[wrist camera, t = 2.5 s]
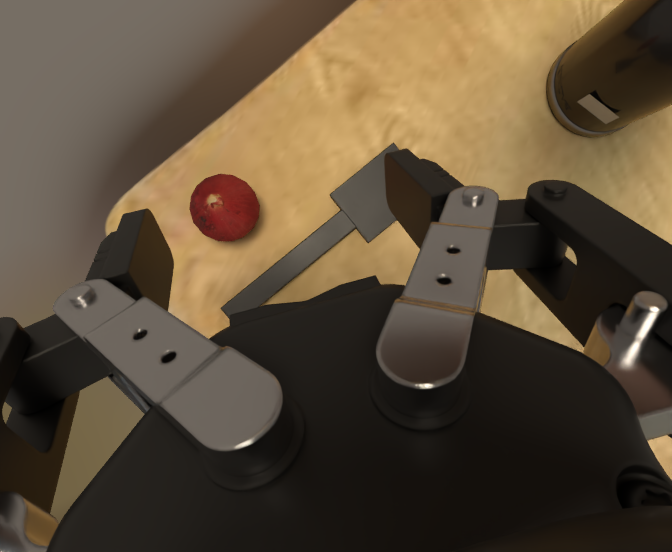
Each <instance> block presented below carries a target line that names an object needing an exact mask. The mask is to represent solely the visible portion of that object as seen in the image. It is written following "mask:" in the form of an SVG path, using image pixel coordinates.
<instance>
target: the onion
mask: <svg viewBox="0 0 672 552" xmlns="http://www.w3.org/2000/svg"><path fill="white" fill-rule="evenodd" d="M259 207H260V205H259V203H258V200H257V197H256V194H255V192H254V191H253V189H252V188H251V187H250V186H249V185H248V184H247V183H246V182H245V181H243V180H241V179H239V178H237V177H235V176H233V175H226V174H218V175H214V176H211V177H208V178H206V179H204V180H203V181H202V182H201V183H200V184H198V185H197V186H196V188H195V190H194V192H193V194H192V196H191V202H190V212H191V215H192V219H193V222H194V224H195V225H196V226H197V227H198V228H199V230H200V231H201V232H202V233H203V234H204V235H206V236H208V237H210V238H212V239H215V240H217V241H234V240H237V239H239V238H242V237H244V236H245V235H246V234H247V233H248V232H250V231H251V230H252V229H253V228H254V226H255V224H256V222H257V220H258V218H259Z"/></svg>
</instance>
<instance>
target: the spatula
mask: <svg viewBox="0 0 672 552" xmlns="http://www.w3.org/2000/svg"><path fill="white" fill-rule="evenodd" d="M398 150H399V149H398V147H397V146H396V145H395V144H394V143H392V144H391V145H390V146H389V147H388V148H386V149H385V150H384V151H383V152H381V153H380V154H379V155H378V156H376V157H375V158H374V159H373V160H372V161H370V162H369V163H368V164H367V165H365V166H364V167H363V168H362V169H360V170H359V171H358V172H357V173H356V174H354V175H353V176H352V177H351V178H349V179H348V180H347V181H346V182H345V183H343V184H342V185H341V186H340V187H338V188H337V189H336V190H335V191H333V192H332V193H331V194H330V196H331V198H332V199H333V200H334V201H335V203H336V204H337V205H338V206H339V208H340V209H341V210H340V211H339V212H338V213H337V214H336V215H334V216H333V217H332V218H331V219H329V220H328V221H327V222H326V223H325V224H323V225H322V226H321V227H320V228H318V229H317V230H316V231H315V232H313V233H312V234H311V235H310V236H309V237H307V238H306V239H305V240H304V241H302V242H301V243H300V244H299V245H297V246H296V247H295V248H294V249H293V250H291V251H290V252H289V253H288V254H286V255H285V256H284V257H283V258H282V259H280V260H279V261H278V262H277V263H275V264H274V265H273V266H272V267H270V268H269V269H268V270H267V271H266V272H264V273H263V274H262V275H261V276H259V277H258V278H257V279H256V280H254V281H253V282H252V283H251V284H250V285H248V286H247V287H246V288H245V289H243V290H242V291H241V292H240V293H239V294H237V295H236V296H235V297H234V298H232V299H231V300H230V301H229V302H227V303H226V304H225V305H224V306H223V307H221V309H222V311H223V312H224V313H225V314H226V315H227V317H228V318H229V319H230V315H231V314H235V313H238V312H242V311H246V310H249V309H253V308H257V307H259V306H261V305H262V304H263V303H264V302H266V301H267V300H268V299H269V298H270V297H272V296H273V295H274V294H275V293H277V292H278V291H279V290H280V289H281V288H283V287H284V286H285V285H286V284H288V283H289V282H290V281H291V280H293V279H294V278H295V277H296V276H297V275H299V274H300V273H301V272H302V271H304V270H305V269H306V268H307V267H309V266H310V265H311V264H312V263H313V262H315V261H316V260H317V259H318V258H320V257H321V256H322V255H323V254H324V253H326V252H327V251H328V250H329V249H331V248H332V247H333V246H334V245H336V244H337V243H338V242H339V241H340V240H342V239H343V238H344V237H345V236H347V235H348V234H349V233H350V232H352V231H353V230H354V229H355V228H356V229H357V230H358V231H359V232H360V234H361V235H362V236H363V237H364V239H365V240H366V241H367V242H368V243H369V242H370V241H371V240H372V239H374V238H375V237H376V236H377V235H379V234H380V233H381V232H382V231H384V230H385V229H386V228H387V227H388V226H390V225H391V224H392V223H393V222H395V221H396V220H397V219H396V218H395V216H394V215H393V214H392V213H391V211H390V209H389V207H388V204H387V199H386V187H385V169H384V157H385V154H386V153H389V152H393V151H398Z"/></svg>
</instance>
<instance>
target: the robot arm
mask: <svg viewBox="0 0 672 552" xmlns="http://www.w3.org/2000/svg"><path fill="white" fill-rule="evenodd" d="M547 96H548V101H549V105H550V107H551V110H552V112H553V114H554V115H555V117H556V118H557V120H558V121H559V122H560V123H561V124H562V125H563V126H564V127H566V128H567V129H568V130H570V131H572V132H574V133H576V134H579V135H582V136H587V137H599V136H604V135H608V134H610V133H613V132H615V131H617V130H619V129H621V128H623V127H625V126H627V125H628V124H630V123H632V122H635V121H637V120H639V119H641V118H644V117H646V116H648V115H651V114H653V113H655V112H657V111H659V110H662V109H664V108H666V107H668V106H670V105H672V0H624V1H623V2H622V3H620V4H619V5H618V6H617V7H616V8H615V9H614V10H612V11H611V12H610V13H609V14H608V15H607V16H606V17H604V18H603V19H602V20H601V21H600V22H599V23H597V24H596V25H595V26H594V27H593V28H592V29H590V30H589V31H588V32H587V33H586V34H585V35H584V36H582V37H581V38H580V39H579V40H578V41H576V42H574V43H573V44H572V45H571V46H569V47H568V48H567V49H566V50H565V51H564V52H563V53H562V54H561V55H560V56H559V57H558V58H557V59H556V61H555V62H554V64H553V66H552V68H551V70H550V73H549V77H548V82H547ZM384 169H385V187H386V199H387V204H388V207H389V209H390V211H391V213H392V214H393V215H394V216H395V218H396V219H397V220H398V222H399V223H400V224H401V225H402V227H403V228H404V229H405V231H406V232H407V233H408V234H409V236H410V237H411V238H412V240H413V241H414V242H415V243H416V245H417V246H418V247H419V249H420V251H419V254H418V256H417V259H416V261H415V264H414V266H413V269H412V271H411V274H410V276H409V279H408V281H407V284H406V286H404V285H395V284H384V285H381V284H380V283H379V281H378V279H377V277H376V276H371V277H367V278H364V279H360V280H356V281H353V282H349V283H345V284H342V285H339V286H337V287H335V288H333V289H331V290H329V291H326V292H324V293H322V294H320V295H318V296H316V297H314V298H312V299H310V300H307V301H302V302H292V303H281V304H270V305H264V306H260V307H257V308H253V309H249V310H246V311H242V312H238V313H235V314H231V315H230V326H229V327H227V328H225V329H223V330H222V331H220V332H218V333H217V334H215V335H214V336H212V337H211V338H209V339H208V338H206V337H205V336H203V335H202V334H200V333H199V332H197V331H196V330H194V329H193V328H191V327H190V326H188V325H187V324H185V323H184V322H182V321H181V320H179V319H178V318H176V317H175V316H173V315H172V314H171V313H169V312H168V307H169V299H170V291H171V284H172V276H173V268H174V261H173V257H172V253H171V250H170V248H169V246H168V244H167V242H166V240H165V238H164V236H163V234H162V232H161V230H160V228H159V226H158V224H157V222H156V220H155V218H154V216H153V214H152V212H151V211H150V210H149V209H143V210H139V211H134V212H130V213H126V214H123V216H122V218H121V221H120V223H119V226H118V229H117V231H115V232H111V233H110V234H109V235H108V236H107V237H106V238H105V239H104V240H103V241H102V242H101V244H100V246H99V249H98V251H97V254H96V256H95V259H94V262H93V263H92V266H91V268H90V271H89V273H88V275H87V278H86V280H85V282H82V283H79V284H77V285H75V286H73V287H71V288H70V289H68V290H67V291H65V292H64V293H63V294H62V295H60V296H59V297H58V299H57V300H56V301H55V303H54V305H53V311H54V312H55V314H54V315H52V316H50V317H48V318H46V319H44V320H41V321H39V322H37V323H34V324H32V325H30V326H28V327H25V328H22V327H21V325H20V324H19V323H18V322H17V321H16V320H15V319H13V318H10V317H3V318H0V552H672V480H671V479H670V478H669V476H668V475H667V474H666V472H665V471H664V469H663V468H662V466H661V465H660V463H659V462H658V460H657V458H656V457H655V455H654V453H653V451H652V450H651V448H650V446H649V444H648V442H647V440H651V439H654V438H658V437H662V436H665V435H668V436H669V437H671V438H672V245H671V244H669V243H668V242H666V241H665V240H663V239H661V238H660V237H658V236H657V235H655V234H653V233H652V232H650V231H649V230H647V229H645V228H644V227H642V226H641V225H639V224H637V223H636V222H634V221H633V220H631V219H629V218H628V217H626V216H625V215H623V214H621V213H620V212H618V211H617V210H615V209H613V208H612V207H610V206H609V205H607V204H605V203H604V202H602V201H601V200H599V199H597V198H596V197H594V196H593V195H591V194H590V193H588V192H586V191H585V190H583V189H582V188H580V187H578V186H577V185H575V184H572V183H569V182H565V181H560V180H543V181H538V182H535V183H533V184H531V185H530V186H529V187H528V190H527V195H526V199H516V200H499V196H498V194H497V193H496V192H495V191H494V190H492V189H489V188H486V187H482V186H464V185H463V184H461V183H460V182H459V181H458V180H456V179H455V178H454V177H453V176H451V175H449V173H448V172H446V171H445V170H443V168H442V167H440V166H439V165H438V164H437V163H435V162H432V161H429V160H426V159H419V158H418V157H416V156H415V155H414V154H413V153H412V152H411V151H409V150H408V149H402V150H398V151H393V152H389V153H386V154H385V157H384ZM568 246H569V247H570V248H572V250H573V251H574V253H575V255H576V259H577V266H576V265H575V264H574V263H573V262H572V261H570V260H569V259H568V258H567V257H566V256H565V253H566V250H567V247H568ZM503 269H513V270H514V272H515V273H516V274H517V275H518V276H519V277H520V278H521V279H522V281H523V282H524V283H525V284H526V285H527V286H528V287H529V288H530V289H531V290H532V291H533V292H534V294H535V295H536V296H537V297H538V298H539V299H540V300H541V301H542V302H543V303H544V304H545V305H546V307H547V308H548V309H549V310H550V311H551V312H552V313H553V314H554V315H555V316H556V317H557V318H558V320H559V321H560V322H561V323H562V324H563V325H564V326H565V327H566V328H567V329H568V330H569V331H570V333H571V334H572V335H573V336H574V337H575V338H576V339H577V340H578V341H579V342H580V343H581V344H582V346H583V347H584V351H583V353H581V352H579V351H577V350H574V349H572V348H570V347H567V346H564V345H562V344H559V343H557V342H554V341H552V340H549V339H546V338H544V337H541V336H539V335H536V334H534V333H531V332H528V331H526V330H523V329H521V328H518V327H516V326H513V325H511V324H508V323H505V322H503V321H500V320H498V319H495V318H493V317H490V316H487V315H485V314H482V313H480V311H481V306H482V301H483V295H484V290H485V284H486V279H487V273H488V270H503ZM107 376H108V377H109V378H110V379H111V381H112V382H113V383H114V384H115V385H116V386H117V387H118V388H119V389H120V390H121V391H122V392H123V393H124V394H125V395H126V396H127V397H128V398H129V399H130V400H131V401H133V402H134V404H135V405H136V406H137V407H138V408H139V409H140V410H141V411H142V412H143V413H144V414H145V415H144V416H143V417H142V419H141V420H140V421H139V422H138V423H137V425H136V426H135V427H134V428H133V430H132V431H131V432H130V433H129V435H128V436H127V437H126V438H125V440H124V441H123V442H122V443H121V445H120V446H119V447H118V448H117V450H116V451H115V452H114V453H113V455H112V456H111V457H110V458H109V460H108V461H107V462H106V463H105V465H104V466H103V467H102V468H101V469H100V471H99V472H98V473H97V475H96V476H95V477H94V478H93V480H92V481H91V482H90V483H89V484H88V486H87V487H86V488H85V489H84V491H83V492H82V493H81V494H80V496H79V497H78V498H77V499H76V501H75V502H74V503H73V504H72V506H71V507H70V509H69V510H68V511H67V513H66V514H65V515H64V517H63V519H62V520H61V522H60V523H58V521H57V519H56V518H55V517H53V516H52V515H51V514H50V511H51V507H52V503H53V499H54V495H55V491H56V487H57V483H58V479H59V475H60V471H61V467H62V463H63V459H64V454H65V450H66V446H67V442H68V438H69V434H70V430H71V426H72V422H73V418H74V414H75V410H76V405H77V402H78V398H79V391H80V390H82V389H84V388H85V387H87V386H89V385H91V384H93V383H95V382H97V381H99V380H101V379H103V378H105V377H107ZM4 402H6V403H7V404H8V405H10V406H11V407H12V410H11V413H10V415H9V418H8V420H7V423H6V424H5V422H4V420H3V416H2V408H3V404H4Z"/></svg>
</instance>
